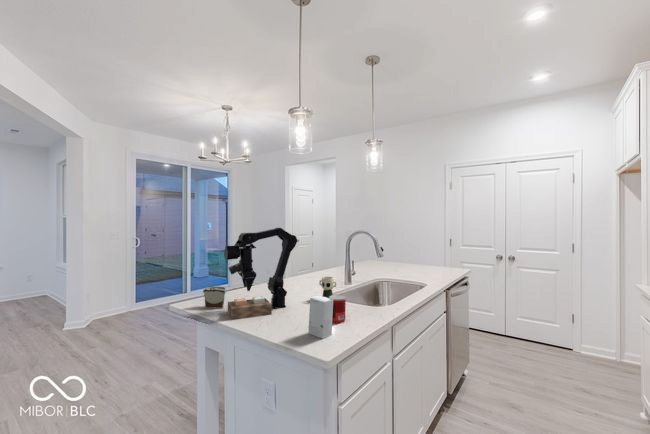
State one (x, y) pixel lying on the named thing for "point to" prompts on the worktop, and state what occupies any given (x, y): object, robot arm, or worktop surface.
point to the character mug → (327, 286)
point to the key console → (249, 309)
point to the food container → (214, 297)
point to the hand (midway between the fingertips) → (246, 288)
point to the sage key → (258, 300)
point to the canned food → (338, 308)
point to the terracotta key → (239, 302)
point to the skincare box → (320, 316)
